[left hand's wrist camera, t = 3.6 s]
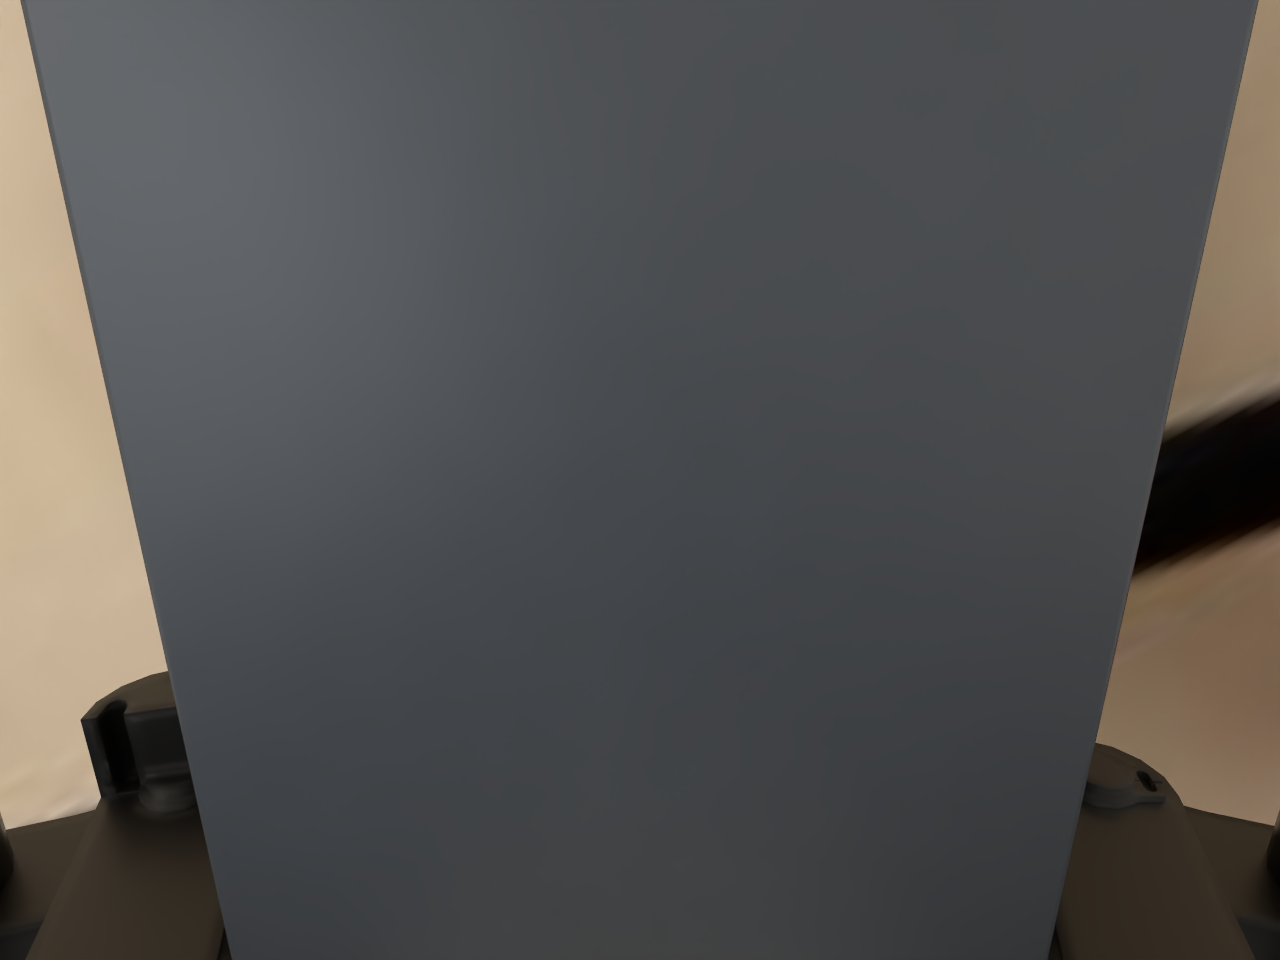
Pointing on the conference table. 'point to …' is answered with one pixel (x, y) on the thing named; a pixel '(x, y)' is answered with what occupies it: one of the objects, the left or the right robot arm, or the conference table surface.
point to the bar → (639, 447)
